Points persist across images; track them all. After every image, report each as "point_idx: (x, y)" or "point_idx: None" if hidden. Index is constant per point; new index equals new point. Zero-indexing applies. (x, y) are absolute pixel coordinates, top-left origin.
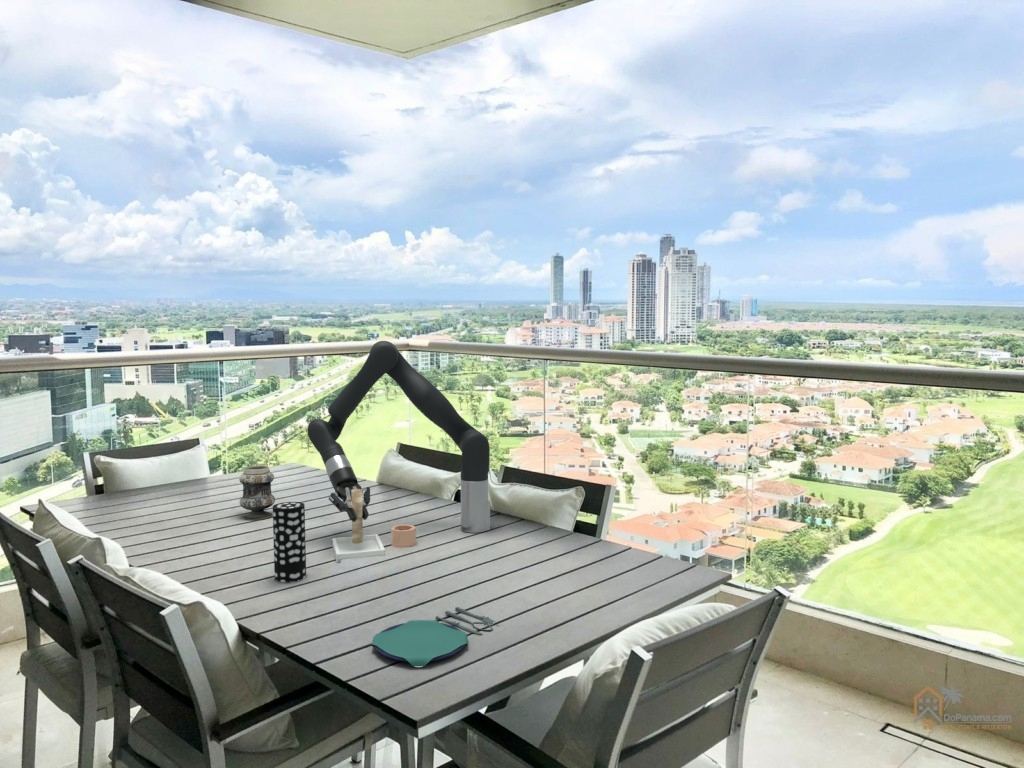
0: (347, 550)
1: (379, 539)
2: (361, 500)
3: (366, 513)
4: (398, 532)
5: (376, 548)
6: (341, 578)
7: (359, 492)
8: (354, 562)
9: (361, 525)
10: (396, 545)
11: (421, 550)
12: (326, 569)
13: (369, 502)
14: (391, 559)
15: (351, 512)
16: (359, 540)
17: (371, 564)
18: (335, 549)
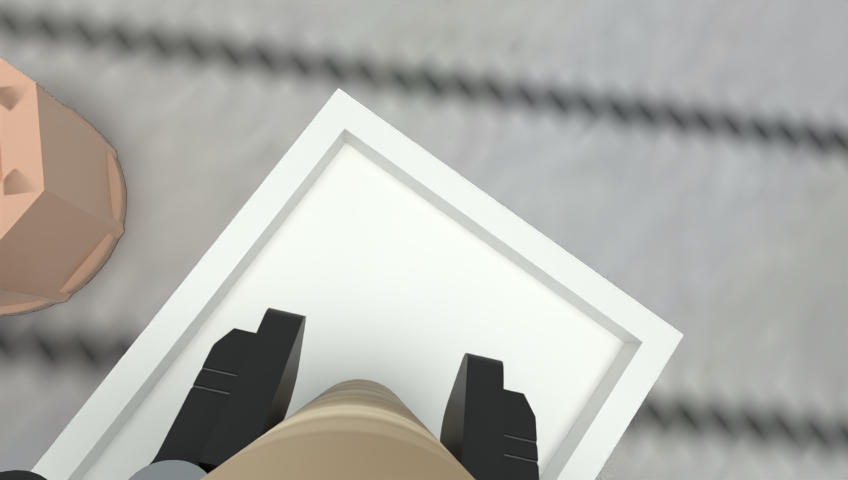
0: None
1: (121, 367)
2: (311, 410)
3: (270, 336)
4: (46, 113)
5: (253, 291)
6: (821, 55)
7: (382, 434)
8: (555, 235)
9: (345, 385)
10: (106, 180)
11: (13, 18)
12: (787, 281)
13: (5, 473)
14: (332, 58)
15: (507, 473)
16: (377, 383)
17: (506, 97)
18: (601, 464)
